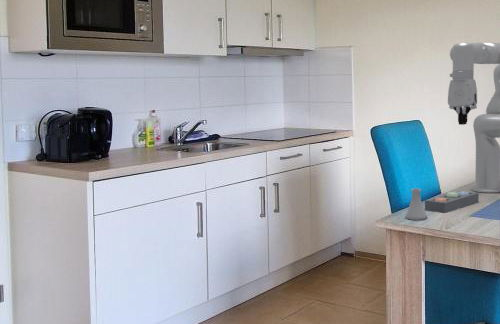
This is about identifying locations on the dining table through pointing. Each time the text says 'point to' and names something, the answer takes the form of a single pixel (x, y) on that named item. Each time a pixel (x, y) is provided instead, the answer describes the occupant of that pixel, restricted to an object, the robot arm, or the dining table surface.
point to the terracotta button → (440, 199)
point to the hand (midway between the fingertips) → (462, 124)
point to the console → (451, 202)
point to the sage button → (452, 194)
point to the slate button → (463, 193)
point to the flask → (416, 207)
